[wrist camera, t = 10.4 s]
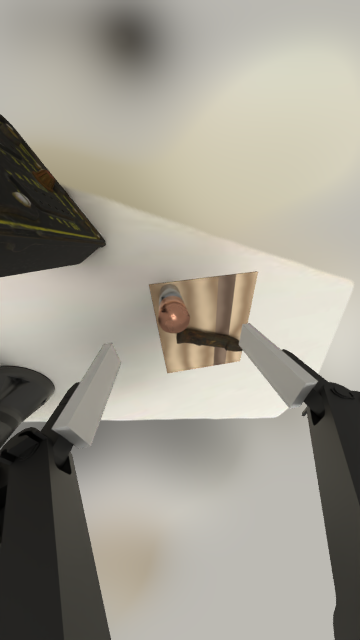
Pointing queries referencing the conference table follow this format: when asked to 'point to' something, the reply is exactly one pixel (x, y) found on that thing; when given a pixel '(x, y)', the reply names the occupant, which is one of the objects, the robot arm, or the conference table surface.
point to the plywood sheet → (207, 318)
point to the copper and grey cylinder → (172, 310)
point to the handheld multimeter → (37, 213)
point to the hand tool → (208, 340)
